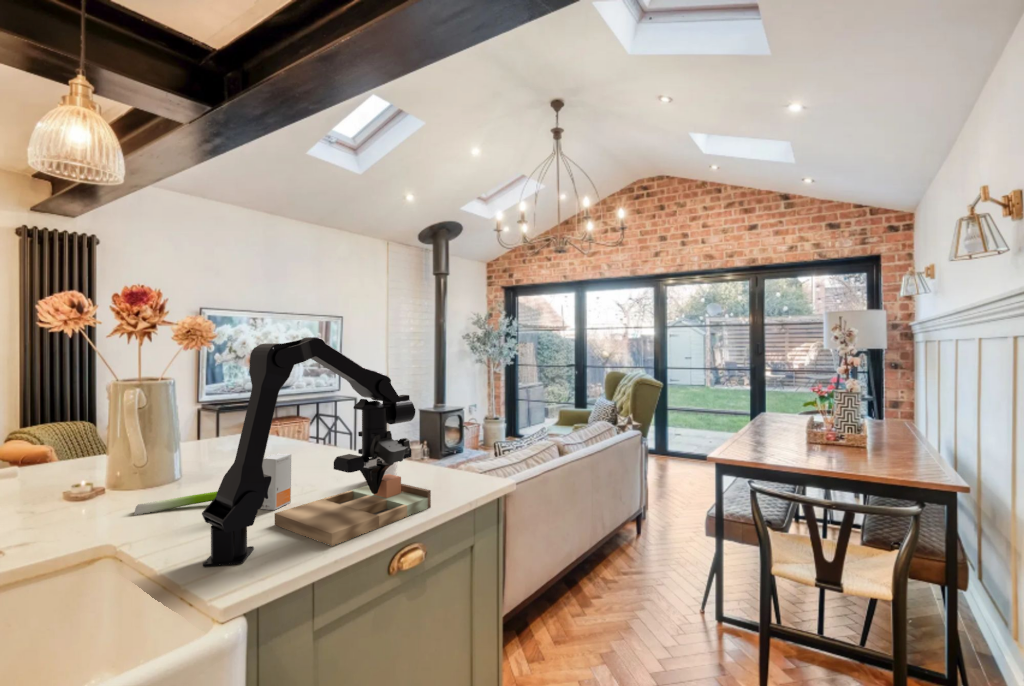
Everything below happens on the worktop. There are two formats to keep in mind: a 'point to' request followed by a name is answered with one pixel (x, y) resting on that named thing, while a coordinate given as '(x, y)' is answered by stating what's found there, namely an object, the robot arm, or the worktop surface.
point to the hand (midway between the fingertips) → (374, 493)
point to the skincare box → (277, 480)
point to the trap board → (352, 513)
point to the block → (389, 486)
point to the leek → (174, 503)
